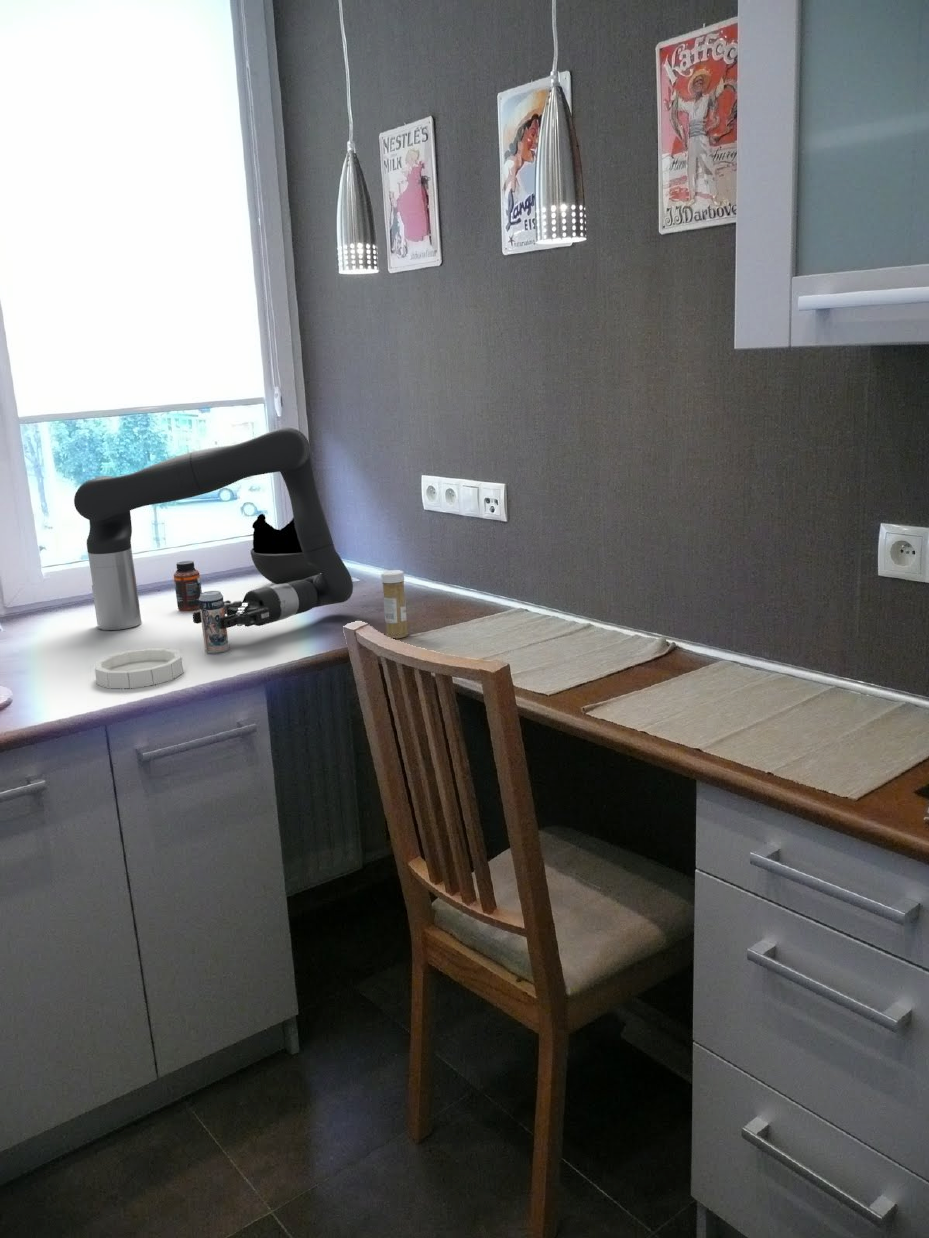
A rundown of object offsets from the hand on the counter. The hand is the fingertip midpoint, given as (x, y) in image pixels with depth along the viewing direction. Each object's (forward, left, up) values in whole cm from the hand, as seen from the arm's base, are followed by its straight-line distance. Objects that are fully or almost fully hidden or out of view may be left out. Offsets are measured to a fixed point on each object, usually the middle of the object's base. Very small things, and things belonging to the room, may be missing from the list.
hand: (206, 621), depth 204 cm
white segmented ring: (+1, -16, -7) cm, 18 cm away
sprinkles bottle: (+24, +29, -7) cm, 38 cm away
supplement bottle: (-37, +21, -7) cm, 43 cm away
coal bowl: (-34, +50, -7) cm, 61 cm away
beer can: (0, +2, -7) cm, 7 cm away
